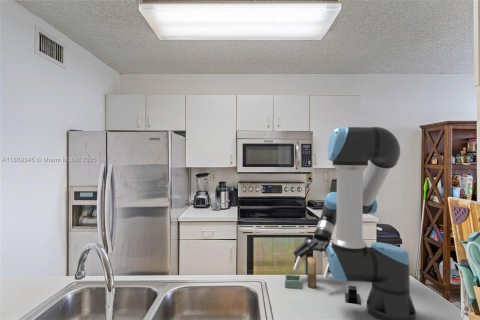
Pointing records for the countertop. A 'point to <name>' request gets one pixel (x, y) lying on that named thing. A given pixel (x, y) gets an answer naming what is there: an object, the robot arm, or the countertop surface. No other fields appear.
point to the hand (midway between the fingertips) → (309, 274)
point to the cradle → (293, 281)
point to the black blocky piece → (352, 296)
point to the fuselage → (311, 272)
